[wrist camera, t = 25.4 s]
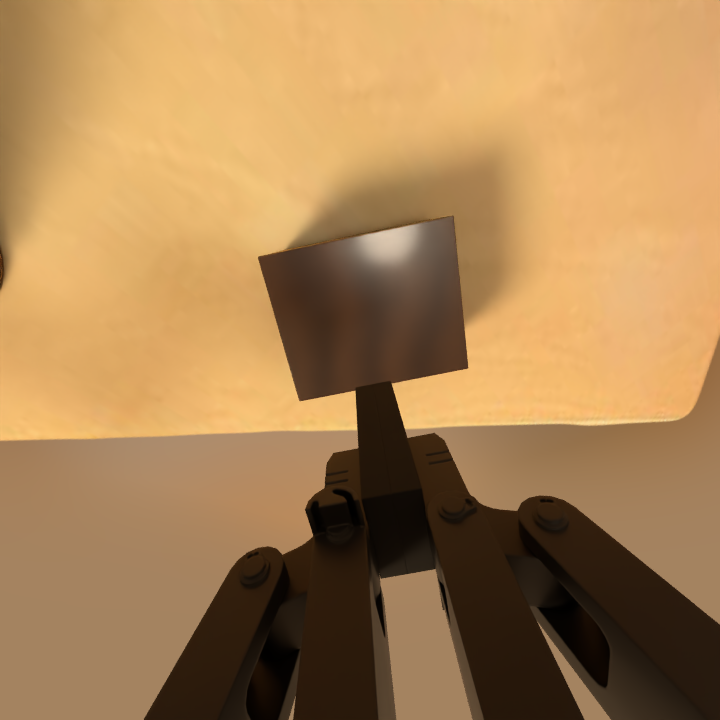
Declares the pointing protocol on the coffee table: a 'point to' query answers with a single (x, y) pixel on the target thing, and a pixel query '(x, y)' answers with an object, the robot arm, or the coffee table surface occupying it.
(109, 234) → the coffee table surface
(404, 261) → the lid
